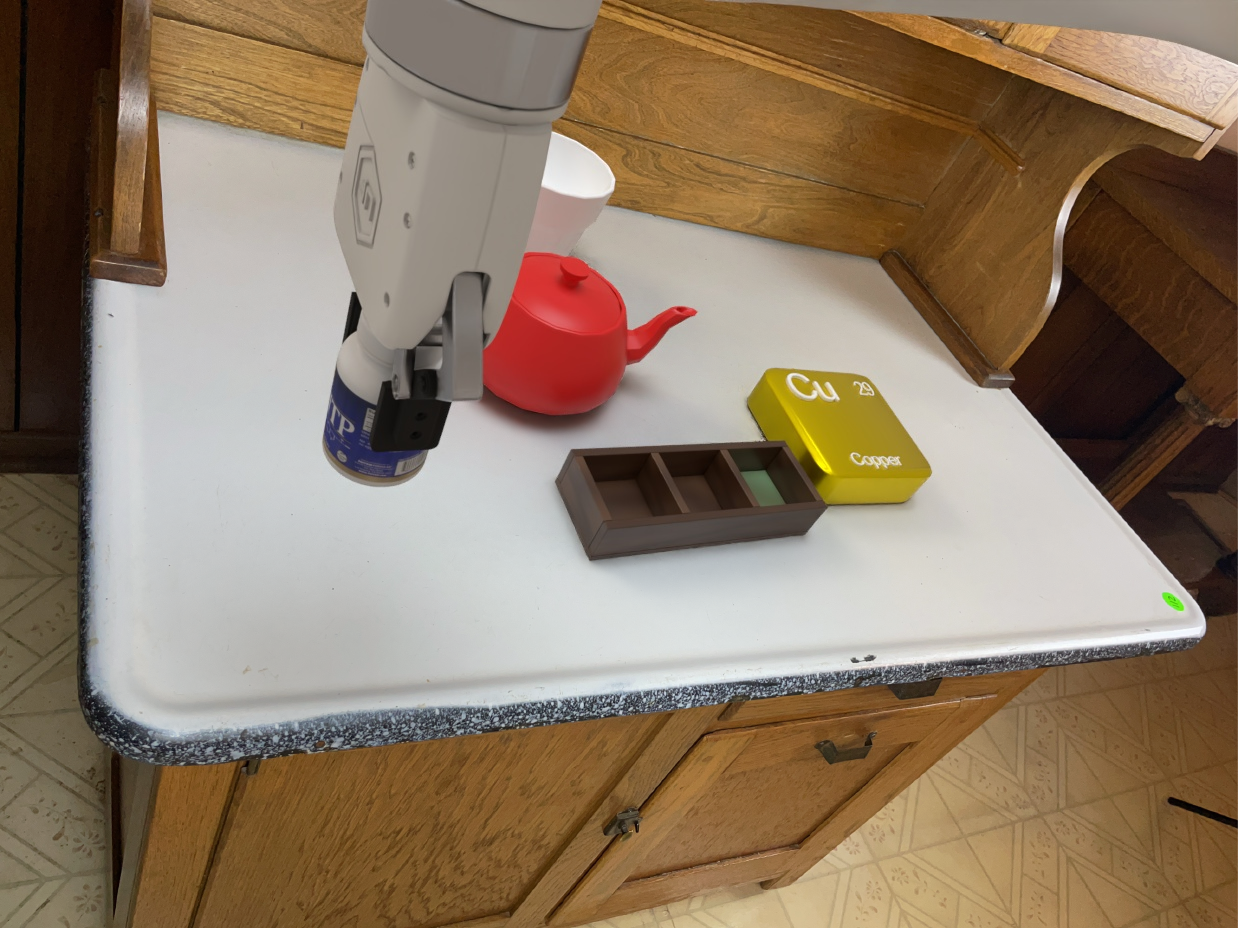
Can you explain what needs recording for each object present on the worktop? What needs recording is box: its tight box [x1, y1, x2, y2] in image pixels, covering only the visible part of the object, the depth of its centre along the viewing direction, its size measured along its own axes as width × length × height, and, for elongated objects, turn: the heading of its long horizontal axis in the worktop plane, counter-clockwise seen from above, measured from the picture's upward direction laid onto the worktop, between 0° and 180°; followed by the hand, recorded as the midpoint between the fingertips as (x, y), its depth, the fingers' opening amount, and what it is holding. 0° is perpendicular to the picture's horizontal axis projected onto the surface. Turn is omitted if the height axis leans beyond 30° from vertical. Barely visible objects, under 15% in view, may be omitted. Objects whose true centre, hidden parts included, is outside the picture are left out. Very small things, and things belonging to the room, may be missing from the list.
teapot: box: [483, 252, 698, 417], centre depth 76 cm, size 25×16×12 cm, turn 107°
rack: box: [554, 440, 829, 561], centre depth 73 cm, size 8×23×4 cm, turn 114°
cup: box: [525, 131, 616, 257], centre depth 89 cm, size 12×12×11 cm
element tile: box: [747, 367, 933, 505], centre depth 87 cm, size 15×15×5 cm
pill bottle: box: [321, 310, 443, 488], centre depth 41 cm, size 5×5×9 cm
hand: (387, 398), depth 42 cm, fingers closed on pill bottle, 5 cm apart
